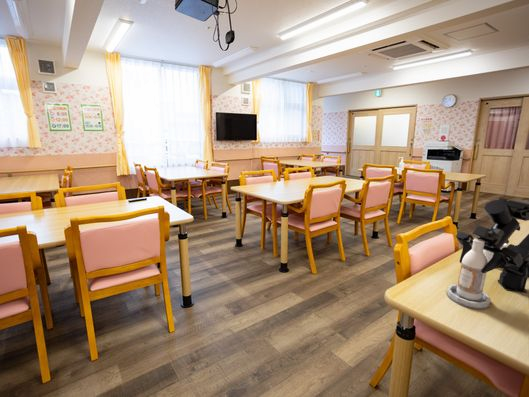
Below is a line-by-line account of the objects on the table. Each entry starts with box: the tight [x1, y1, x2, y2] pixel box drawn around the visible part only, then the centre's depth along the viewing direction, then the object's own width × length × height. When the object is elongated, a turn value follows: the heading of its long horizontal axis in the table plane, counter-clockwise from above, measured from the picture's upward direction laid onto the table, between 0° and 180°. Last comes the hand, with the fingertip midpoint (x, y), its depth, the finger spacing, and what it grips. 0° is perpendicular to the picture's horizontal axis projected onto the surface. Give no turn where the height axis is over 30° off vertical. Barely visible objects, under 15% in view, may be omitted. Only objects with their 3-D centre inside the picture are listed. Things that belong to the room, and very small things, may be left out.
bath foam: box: [456, 238, 488, 300], centre depth 95 cm, size 7×7×20 cm
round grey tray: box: [446, 283, 491, 310], centre depth 97 cm, size 12×12×2 cm
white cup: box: [483, 243, 508, 262], centre depth 122 cm, size 8×8×10 cm
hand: (470, 267), depth 94 cm, fingers closed on bath foam, 7 cm apart
